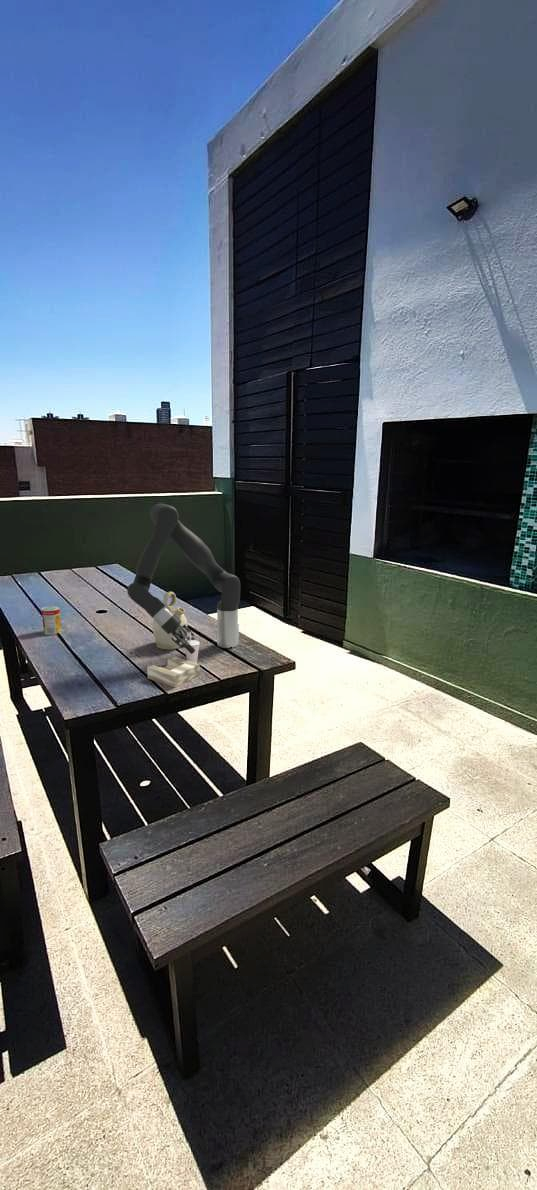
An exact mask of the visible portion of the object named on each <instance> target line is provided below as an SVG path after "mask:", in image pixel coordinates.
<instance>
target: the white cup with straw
mask: <svg viewBox="0 0 537 1190" xmlns="http://www.w3.org/2000/svg"><path fill="white" fill-rule="evenodd" d="M187 641H188V643H189V644H190V645H191V646H192V647H193V648H194V649H195V652H194V653H193V654H191V653H190V652H189V651H188V650H187V649H186V648H184V650H185V656H186V657H185V658H186V660H187V661H191V662H194V663H198V656H199V647H200V645H201V644H200V641H199V640H197V639H195V640H191V632H190V640H187Z"/></svg>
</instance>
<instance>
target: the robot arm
mask: <svg viewBox="0 0 537 1190" xmlns="http://www.w3.org/2000/svg"><path fill="white" fill-rule="evenodd" d="M149 513H150V519H151V521H152V522H153V524H154V525H155V527H154V531H153V534H152V536H151V539H150V540H149V542H148V543H147V545H146V546H145V548H144V550H143V551H142V553H141V555H140V557H139V560H138V562H137V566H136V568H135V576H134V580H133V582H132V583H130V584H129V585H128V587H127V589H126V590H127V591H126V592H127V595H128V597H129V598H130V599H131V600H132V601H133V602H134V603H135V604H137V605H138V606H139V607H141V608H142V609H143V610H145V612H146V613H147V614H148V615H149V616H150V617H151V618H152V619H153V620H155V622H156V623H157V624H158V625H159V626H160V627H161V628H162V629H163V630H164V631H165V632H166V633H167V634H170V633H172V634H173V637H172V638H171V639H172V640H173V641H174V642H175V643H176V644H177V645H178V646H179V647H180V648H179V649H183V648H184V649H185V648H186V649H187V650H188V651H189V652H190V653H191V654H193V653H194V652H195V649H194V648H193V647H192V646H191V645H190V644H189V643H188V640H190V632H191V640H196V638H195V634H194V633H193V631H192V630H191V629H190V628H189V626H188V625H187V626H186V625H185V624H184V625H183V626H181V625H180V623H181V620H180V619H179V618H178V617H177V616H176V615H175V614H174V613H173V612H172V611H171V610H170V609H169V608H167V607H166V606H165V605H164V604H163V601H162V600H160V599H159V598H158V597H156V596H154V595H153V594H152V593H151V592H150V587H151V584H152V580H153V576H154V573H155V571H156V569H157V565H158V564H159V560H160V558H161V556H162V553H163V550H164V548H165V546H166V544H167V542H168V541H169V538H170V539H171V540H172V541H173V543H174V544H175V545H176V546H177V547H178V548H179V549H180V551H181V552H182V553H183V554H184V555H185V557H186V558H187V559H188V560H189V561H190V562H191V563H192V564H193V565H194V566H195V567H196V568H197V569H198V570H200V571H201V572H202V573H203V574H204V575H205V576H206V578H208V580H209V581H210V583H211V584H212V585H213V587H214V588H215V589H216V590H217V591H218V592H219V593H221V599H220V600H219V601H218V602H217V604H216V607H217V608H216V613H217V614H216V618H217V619H216V620H217V621H216V623H217V625H216V627H217V636H216V638H217V647H220V648H223V649H230V647H232V648H235V647H237V646H238V644H239V639H240V638H239V636H240V635H239V633H240V631H239V630H240V629H239V628H240V626H239V625H240V624H239V618H238V617H239V604H240V602H241V601H240V599H241V581H240V578H239V577H238V576H237V575H235V574H232V573H230V572H227V571H226V570H225V569H223V568H222V567H221V566H220V565H219V564H218V563H217V561H216V559H215V557H214V555H213V553H212V551H211V550H210V548H209V547H208V546H207V544H205V542H204V541H203V540H202V539H201V538H199V536H197V535H196V534H195V533H194V532H192V531H191V530H190V529H189V528H187V527H186V526H184V525H183V523H182V522H181V521H180V520H179V516H180V515H179V512H178V510H177V509H176V508H175V507H174V506H172V505H170V504H166V503H157V504H154V505H153V506H152V507H151V509H150V512H149ZM184 641H185V642H184Z"/></svg>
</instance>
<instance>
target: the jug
mask: <svg viewBox="0 0 537 1190" xmlns="http://www.w3.org/2000/svg"><path fill="white" fill-rule="evenodd" d="M176 595H177V594H175V592H174V591H167V592H166V593H164V595H163V597H162V603H163V604H164V605H165V606H166V607H167V608H169V609H170V610H171V611H172V612H173V613H174V614H175V615H176V616H177V617H178V618H179V619H180V620H181V623H180V625H181V626H183V625H184V624H185V625H186V626H187V627H188V620H187V618H186V616H185V613H186V611H185V608H183V607H181V606H177V609H175V605H176V602H177V596H176ZM170 597H171V600H170V603H168V602H169V598H170ZM151 626H152V632H153V637H154V641H155V644H156V645H155V646H156V647H157V648H158V649H160V650H176V649H181V648H180V647H179V646H178V645H177V644H176V643H175V642H174V641H173V640H172V639H171V638H172V637H173V634H172V633H170V634H167V633H166V632H165V631H164V630H163V629H162V628H161V627H160V626H159V625H158V624H157V623H156V622H155V620H154V619H153V621H152V625H151ZM184 642H185V641H184Z"/></svg>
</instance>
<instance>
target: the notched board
mask: <svg viewBox="0 0 537 1190" xmlns="http://www.w3.org/2000/svg"><path fill="white" fill-rule="evenodd" d="M146 668H147V670H146V671H147V679H149V680H151V681H154V682H158V683H160V684H163V685H166V686H170V687H172V688H175V687H176V688H177V686H178V687H180V686H181V685H183V684H185V683H187V682H189V681H190V680H192V678H193V679H195V678H196V676H197V677H198V676H200V674H201V672H200V671H201V669H200V668H201V664H200V663H198V662H197V663H194V662H191V661H187V659H183V658H179V657H177V656H173V655H172V656H169V657H167V665H165V666H163V667H160V666H157V665H154V664H152V665H150V666H148V667H146ZM194 677H195V678H194Z"/></svg>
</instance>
